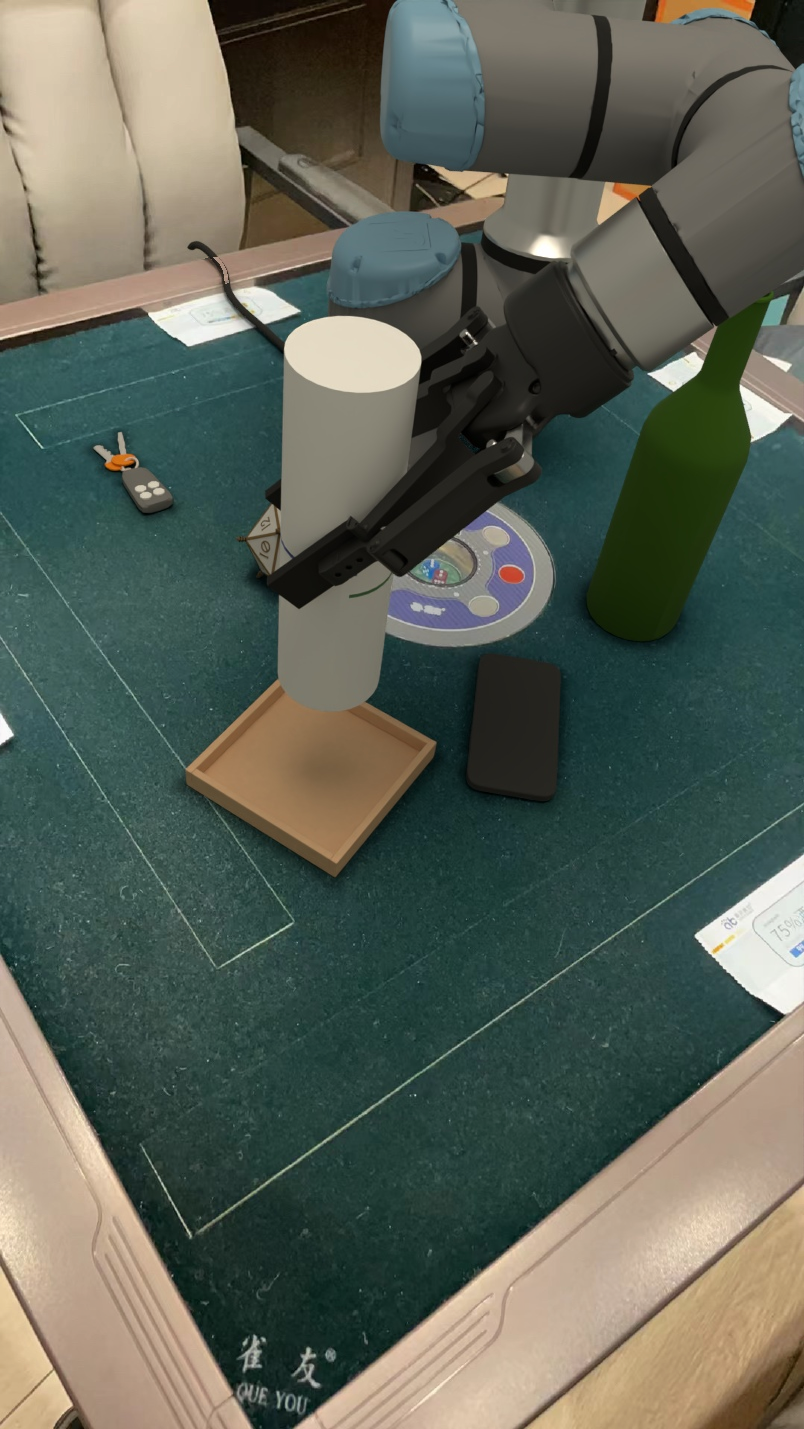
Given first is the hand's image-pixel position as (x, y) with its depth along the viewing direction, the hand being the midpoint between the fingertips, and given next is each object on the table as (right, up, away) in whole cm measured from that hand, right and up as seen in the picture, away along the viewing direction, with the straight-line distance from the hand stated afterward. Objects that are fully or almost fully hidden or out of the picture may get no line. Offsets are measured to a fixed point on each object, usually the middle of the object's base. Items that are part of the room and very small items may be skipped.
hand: (281, 548), depth 64 cm
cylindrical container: (+2, -7, +9) cm, 12 cm away
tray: (0, -15, +20) cm, 25 cm away
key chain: (-20, +14, +41) cm, 48 cm away
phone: (+17, -11, +25) cm, 32 cm away
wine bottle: (+29, 0, +36) cm, 47 cm away
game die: (-3, +3, +34) cm, 34 cm away
